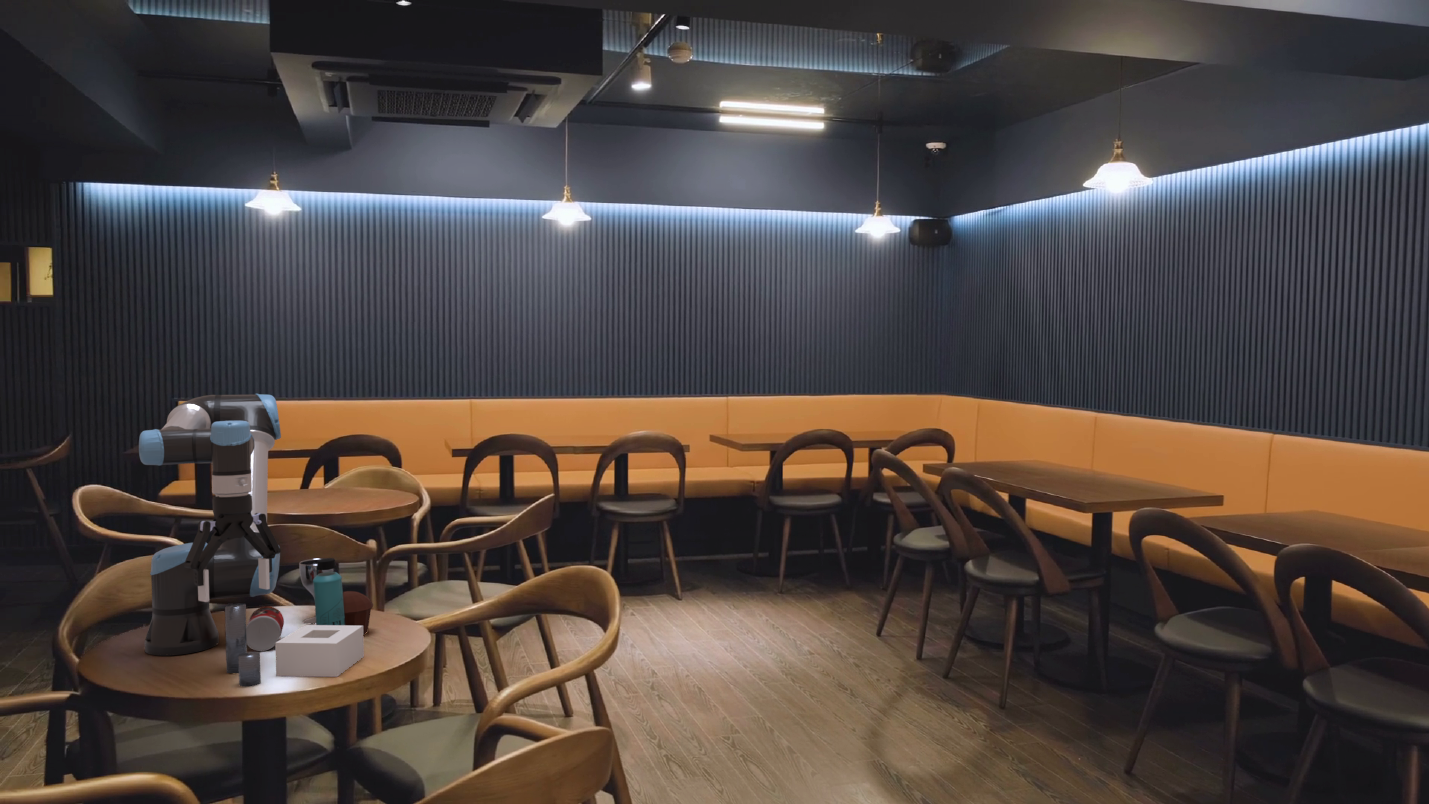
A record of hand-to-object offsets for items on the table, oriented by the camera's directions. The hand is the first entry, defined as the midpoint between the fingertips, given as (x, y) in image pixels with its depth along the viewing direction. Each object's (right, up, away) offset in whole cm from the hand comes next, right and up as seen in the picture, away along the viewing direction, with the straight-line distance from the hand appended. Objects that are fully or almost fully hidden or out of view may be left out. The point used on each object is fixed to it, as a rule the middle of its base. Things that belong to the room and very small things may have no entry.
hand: (234, 594), depth 216 cm
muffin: (+13, -15, +29) cm, 36 cm away
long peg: (0, -16, +1) cm, 16 cm away
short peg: (+6, -17, -7) cm, 19 cm away
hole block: (+17, -16, +4) cm, 24 cm away
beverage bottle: (+13, -15, +20) cm, 29 cm away
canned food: (-4, -11, +26) cm, 28 cm away
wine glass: (+1, -15, +42) cm, 44 cm away
